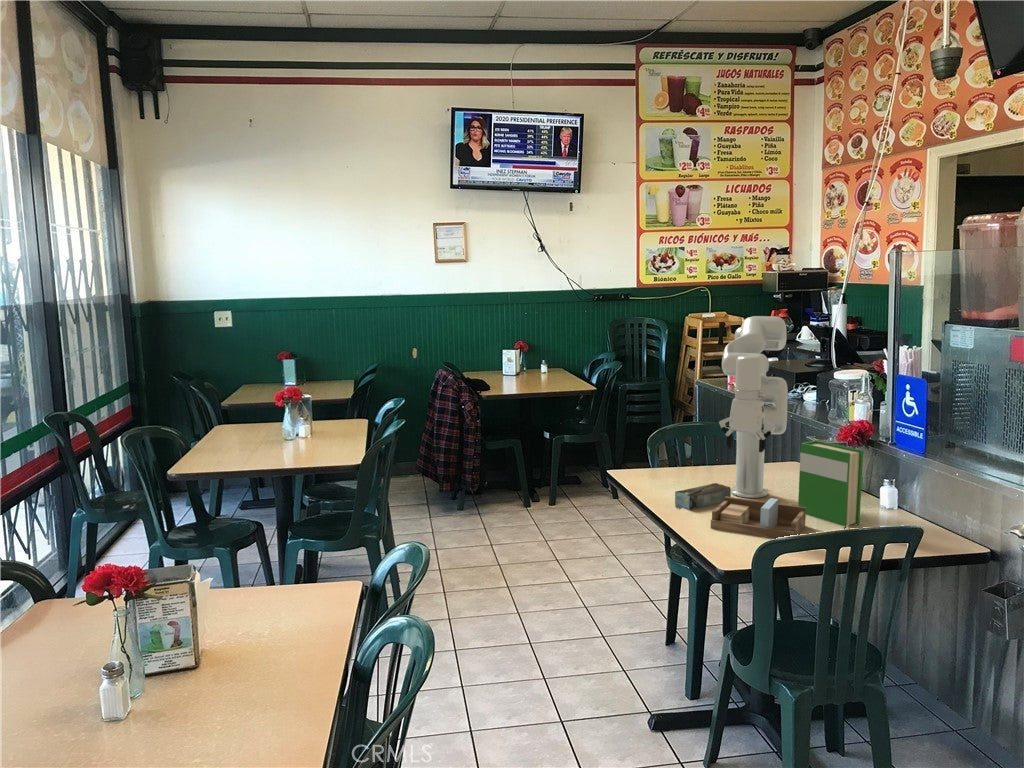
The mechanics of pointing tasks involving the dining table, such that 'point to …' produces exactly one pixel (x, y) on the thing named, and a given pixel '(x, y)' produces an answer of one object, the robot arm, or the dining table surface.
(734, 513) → the offcut
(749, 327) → the robot arm
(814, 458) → the hardback book
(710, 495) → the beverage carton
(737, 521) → the offcut
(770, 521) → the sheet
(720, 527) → the tray
